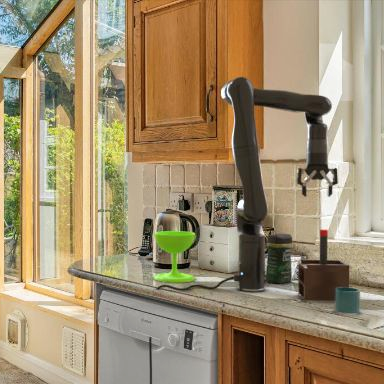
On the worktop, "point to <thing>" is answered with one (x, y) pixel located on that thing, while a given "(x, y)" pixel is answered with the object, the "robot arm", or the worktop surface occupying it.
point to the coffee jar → (279, 258)
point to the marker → (323, 246)
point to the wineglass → (174, 253)
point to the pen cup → (347, 300)
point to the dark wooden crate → (321, 279)
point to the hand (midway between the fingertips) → (316, 196)
